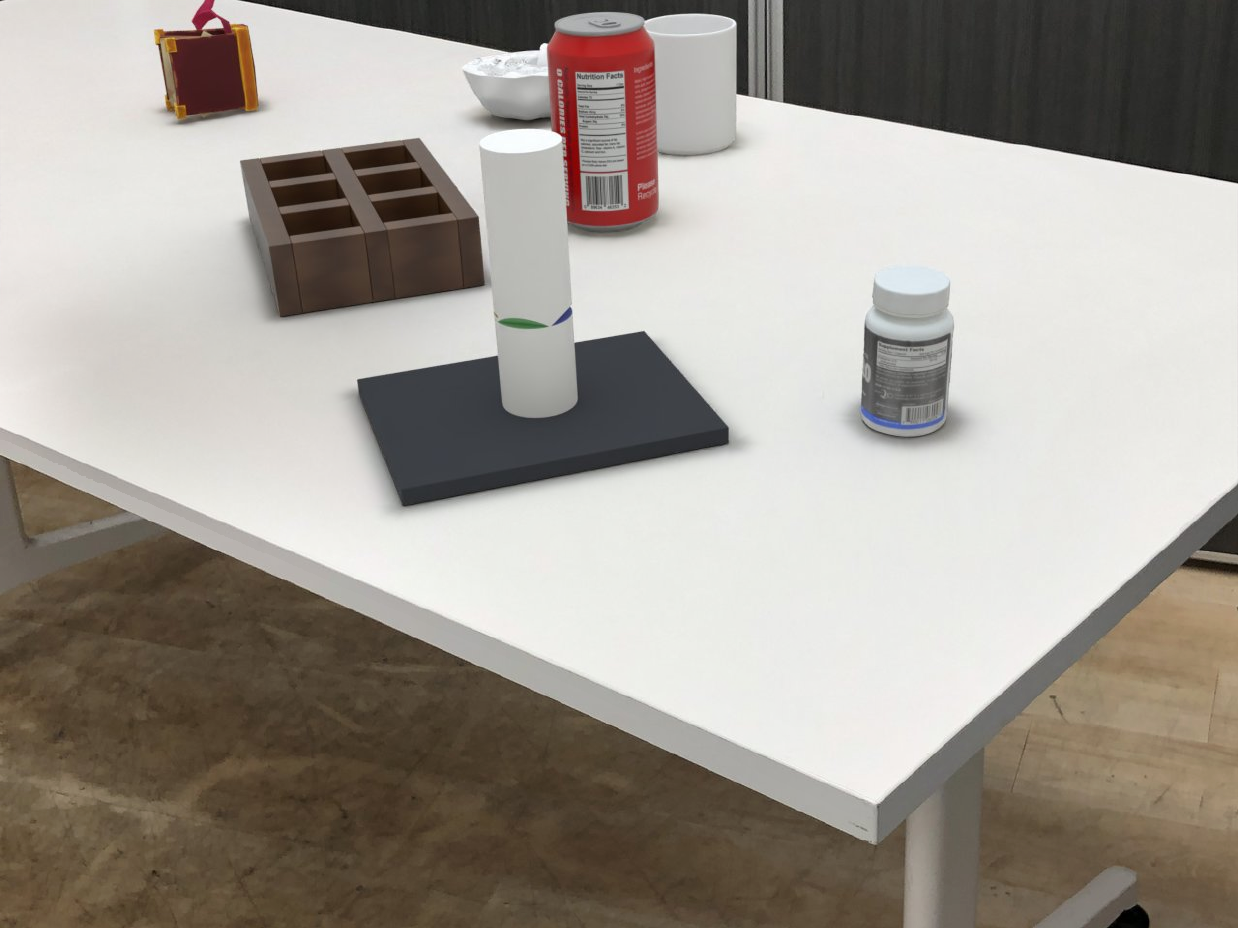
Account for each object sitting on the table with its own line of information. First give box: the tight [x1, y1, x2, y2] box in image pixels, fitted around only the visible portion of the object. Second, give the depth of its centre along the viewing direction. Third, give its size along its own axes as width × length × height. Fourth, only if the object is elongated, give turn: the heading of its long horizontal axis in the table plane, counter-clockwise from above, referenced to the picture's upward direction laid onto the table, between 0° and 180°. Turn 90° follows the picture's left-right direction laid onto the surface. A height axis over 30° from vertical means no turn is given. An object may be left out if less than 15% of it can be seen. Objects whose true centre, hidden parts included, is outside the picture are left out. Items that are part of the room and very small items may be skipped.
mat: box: [356, 330, 730, 506], centre depth 82 cm, size 18×14×1 cm
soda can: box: [547, 11, 660, 233], centre depth 107 cm, size 8×8×15 cm
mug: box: [644, 13, 738, 156], centre depth 124 cm, size 12×8×10 cm
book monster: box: [153, 0, 259, 120], centre depth 142 cm, size 11×9×12 cm
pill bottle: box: [860, 264, 955, 438], centre depth 78 cm, size 5×5×8 cm
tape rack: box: [239, 137, 486, 317], centre depth 105 cm, size 14×20×5 cm
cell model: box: [461, 42, 551, 121], centre depth 135 cm, size 10×12×7 cm
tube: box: [478, 128, 578, 418], centre depth 78 cm, size 4×4×15 cm
